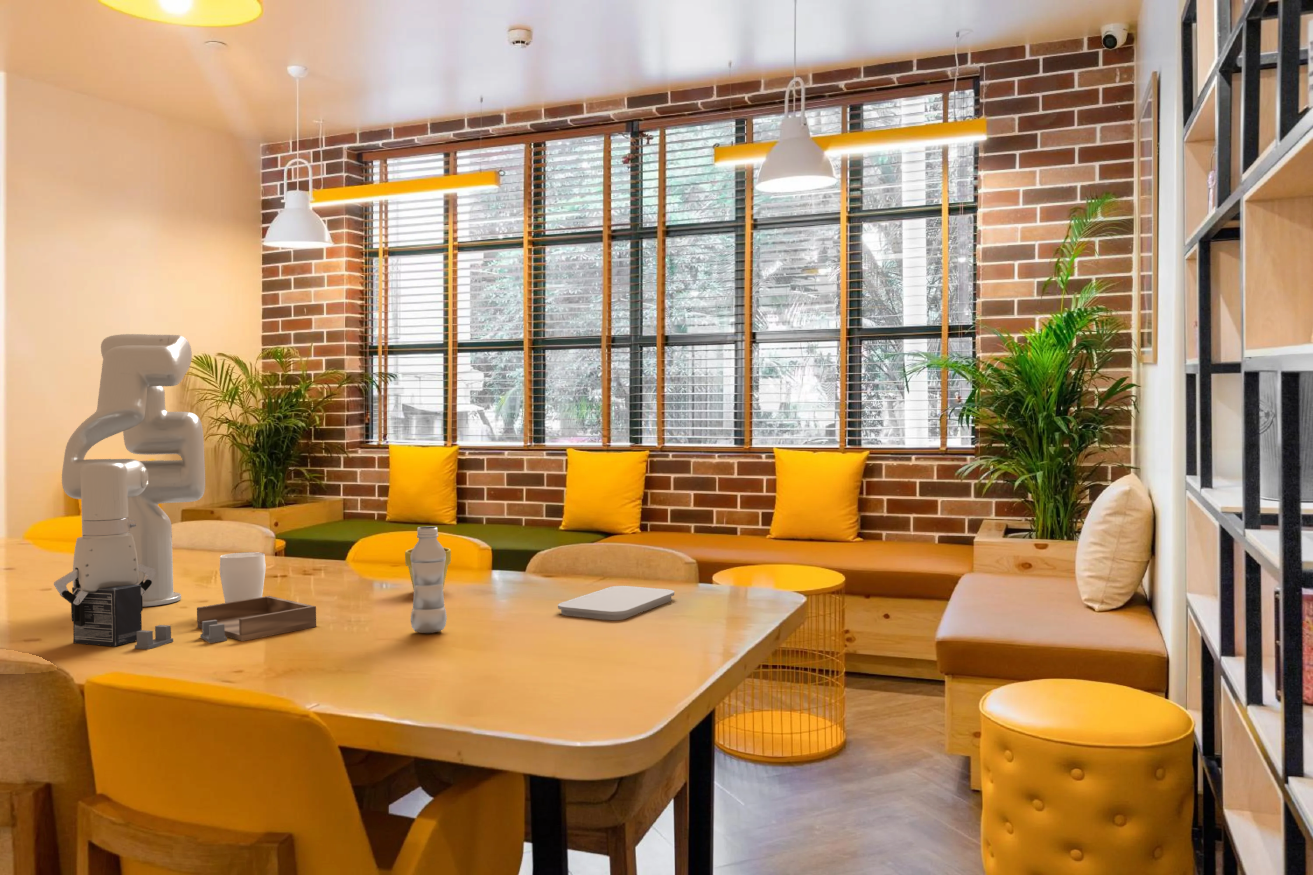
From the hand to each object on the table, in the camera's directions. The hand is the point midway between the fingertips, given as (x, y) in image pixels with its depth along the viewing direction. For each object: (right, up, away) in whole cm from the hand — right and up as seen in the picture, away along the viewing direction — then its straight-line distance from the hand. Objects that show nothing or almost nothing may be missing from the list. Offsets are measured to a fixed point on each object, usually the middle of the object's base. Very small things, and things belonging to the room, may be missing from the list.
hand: (108, 620), depth 182 cm
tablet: (+94, -3, +27) cm, 97 cm away
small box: (0, -4, 0) cm, 4 cm away
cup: (+14, -3, +26) cm, 30 cm away
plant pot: (+49, -2, +47) cm, 67 cm away
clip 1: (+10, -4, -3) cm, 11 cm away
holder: (+23, -3, +11) cm, 26 cm away
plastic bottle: (+59, -3, +4) cm, 59 cm away
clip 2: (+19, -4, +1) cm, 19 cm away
